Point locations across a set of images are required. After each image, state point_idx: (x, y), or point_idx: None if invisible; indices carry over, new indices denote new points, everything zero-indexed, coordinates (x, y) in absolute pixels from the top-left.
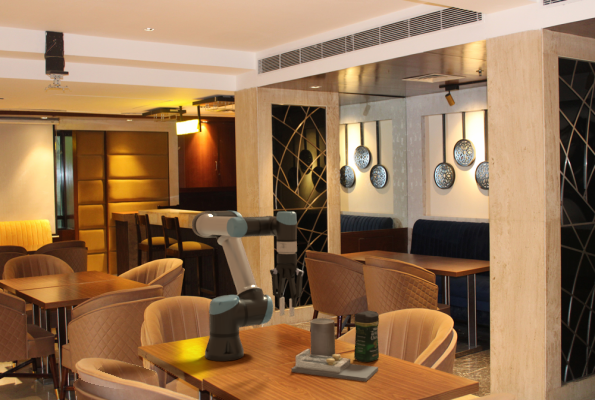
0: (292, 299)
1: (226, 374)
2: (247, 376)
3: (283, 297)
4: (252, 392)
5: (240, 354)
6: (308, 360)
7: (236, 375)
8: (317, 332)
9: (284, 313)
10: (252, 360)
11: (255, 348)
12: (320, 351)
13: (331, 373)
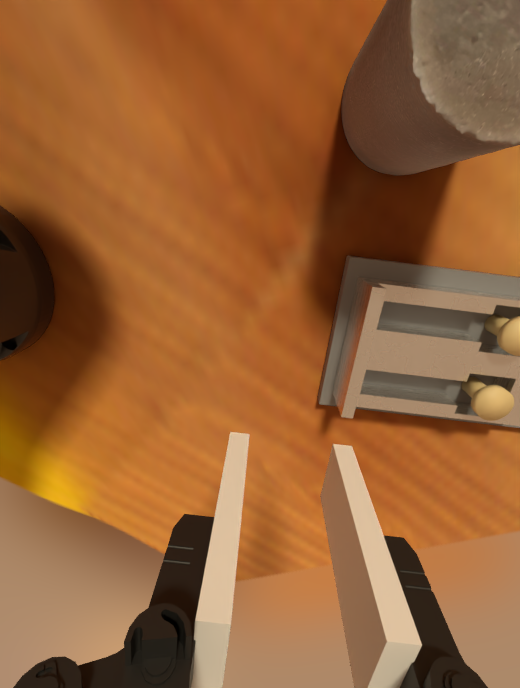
0: (400, 686)
1: (124, 469)
2: (194, 470)
3: (221, 642)
4: (265, 565)
5: (44, 296)
6: (384, 370)
7: (158, 470)
8: (449, 155)
9: (248, 443)
10: (116, 304)
11: (7, 81)
12: (414, 171)
13: (475, 421)
